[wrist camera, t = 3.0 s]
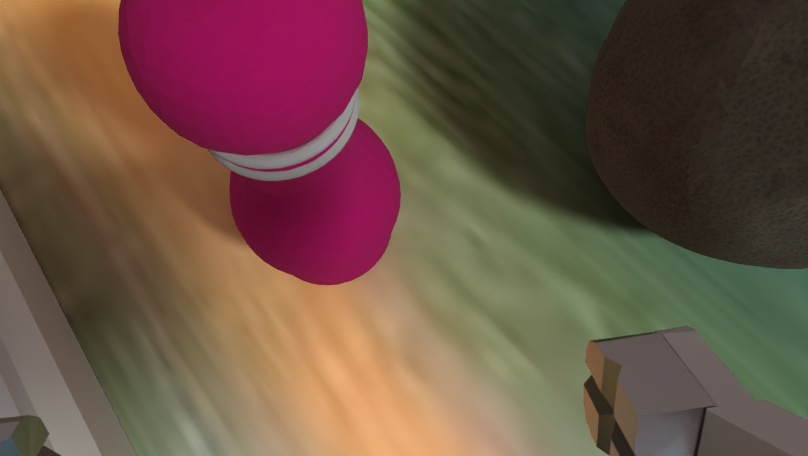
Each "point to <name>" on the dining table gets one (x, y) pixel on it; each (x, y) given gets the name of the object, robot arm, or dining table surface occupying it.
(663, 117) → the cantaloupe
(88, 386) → the kitchen scale
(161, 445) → the dining table surface
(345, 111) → the pepper mill
